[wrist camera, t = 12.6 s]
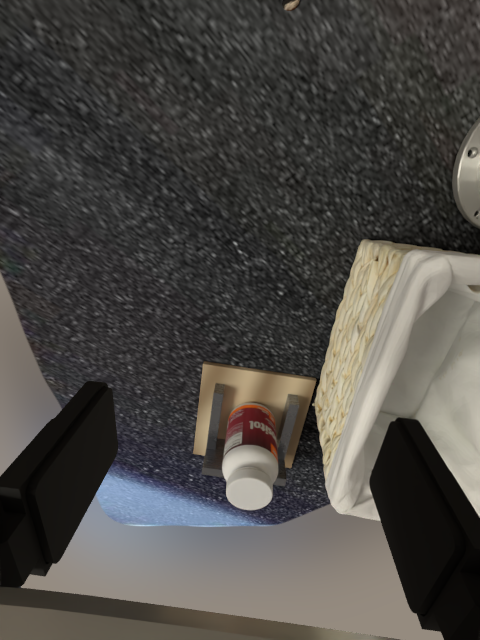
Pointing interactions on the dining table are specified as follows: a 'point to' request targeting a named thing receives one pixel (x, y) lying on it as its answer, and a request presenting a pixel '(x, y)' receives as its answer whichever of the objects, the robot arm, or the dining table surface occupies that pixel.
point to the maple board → (251, 399)
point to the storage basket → (401, 367)
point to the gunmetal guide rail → (217, 446)
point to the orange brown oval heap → (290, 4)
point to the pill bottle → (250, 456)
